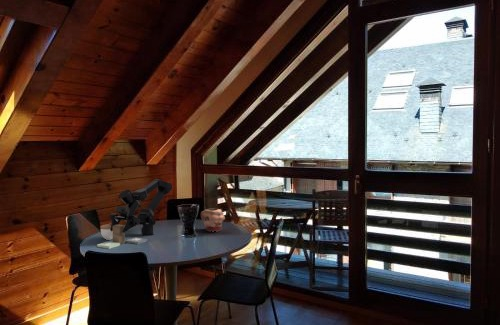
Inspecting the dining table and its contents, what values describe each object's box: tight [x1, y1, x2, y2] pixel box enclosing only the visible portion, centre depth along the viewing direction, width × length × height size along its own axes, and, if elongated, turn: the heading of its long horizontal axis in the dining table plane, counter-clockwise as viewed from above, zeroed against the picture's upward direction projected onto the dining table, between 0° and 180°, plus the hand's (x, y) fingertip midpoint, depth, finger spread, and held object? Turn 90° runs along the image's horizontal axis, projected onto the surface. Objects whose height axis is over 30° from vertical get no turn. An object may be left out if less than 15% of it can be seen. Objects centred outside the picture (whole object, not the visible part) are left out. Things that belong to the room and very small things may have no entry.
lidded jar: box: [100, 222, 113, 241], centre depth 229 cm, size 11×11×9 cm
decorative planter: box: [200, 207, 226, 233], centre depth 250 cm, size 20×12×14 cm, turn 57°
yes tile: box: [96, 241, 121, 250], centre depth 212 cm, size 8×9×1 cm
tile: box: [125, 237, 148, 245], centre depth 221 cm, size 8×9×1 cm
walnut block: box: [112, 223, 126, 245], centre depth 219 cm, size 4×5×10 cm
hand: (116, 231), depth 217 cm, fingers open, 9 cm apart
